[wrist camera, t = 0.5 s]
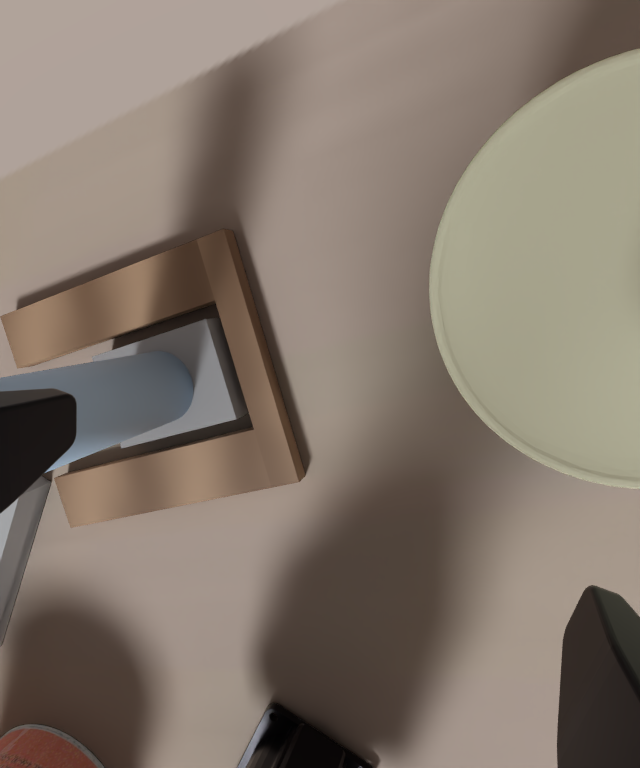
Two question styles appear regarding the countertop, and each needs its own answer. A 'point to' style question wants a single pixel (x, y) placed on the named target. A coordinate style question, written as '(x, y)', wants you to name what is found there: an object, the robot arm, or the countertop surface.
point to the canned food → (43, 749)
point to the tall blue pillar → (146, 389)
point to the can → (551, 276)
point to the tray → (18, 544)
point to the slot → (145, 308)
